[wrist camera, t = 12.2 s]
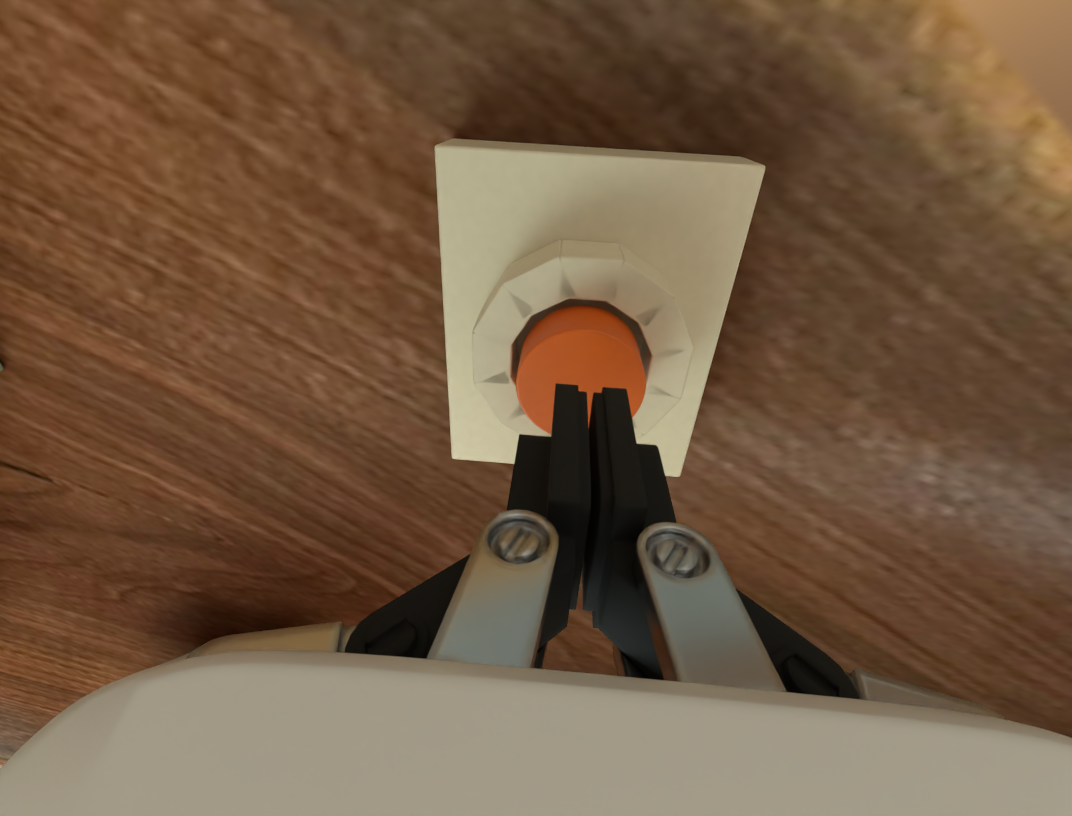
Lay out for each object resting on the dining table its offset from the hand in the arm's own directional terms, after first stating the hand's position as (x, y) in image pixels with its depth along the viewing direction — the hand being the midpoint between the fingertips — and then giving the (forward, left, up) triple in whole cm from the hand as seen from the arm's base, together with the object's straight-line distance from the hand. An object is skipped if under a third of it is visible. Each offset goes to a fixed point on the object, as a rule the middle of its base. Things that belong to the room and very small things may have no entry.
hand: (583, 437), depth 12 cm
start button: (0, 0, -4) cm, 4 cm away
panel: (0, 0, -7) cm, 7 cm away
